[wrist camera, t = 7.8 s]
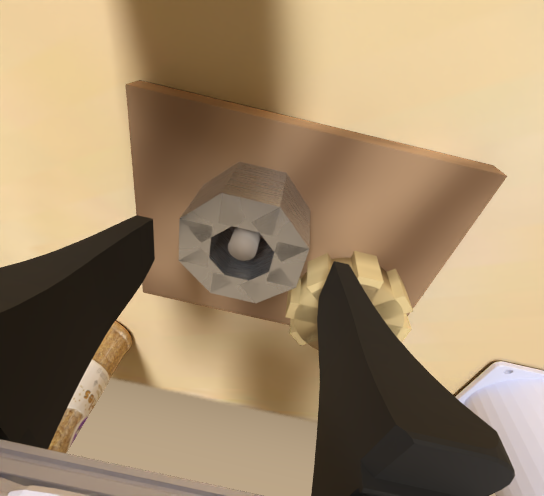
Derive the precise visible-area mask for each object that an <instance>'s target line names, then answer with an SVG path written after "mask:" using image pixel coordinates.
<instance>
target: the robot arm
mask: <svg viewBox="0 0 544 496" xmlns="http://www.w3.org/2000/svg"><path fill="white" fill-rule="evenodd" d="M154 260H155V252H154V230H153V219H152V218H147V217H143V216H139V215H137V216H134V217H132V218H130V219H127V220H125V221H123V222H121V223H119V224H117V225H114V226H112V227H110V228H108V229H106V230H104V231H102V232H99V233H97V234H95V235H93V236H91V237H88V238H86V239H84V240H81V241H79V242H76V243H74V244H71V245H69V246H67V247H64V248H62V249H59V250H56V251H54V252H51V253H48V254H45V255H42V256H39V257H36V258H33V259H30V260H27V261H23V262H20V263H16V264H13V265H9V266H5V267H1V268H0V496H262V495H258V494H253V493H248V492H244V491H239V490H234V489H230V488H225V487H220V486H216V485H211V484H206V483H201V482H197V481H192V480H188V479H183V478H178V477H174V476H169V475H164V474H159V473H155V472H150V471H146V470H141V469H136V468H132V467H127V466H122V465H118V464H113V463H108V462H104V461H99V460H94V459H90V458H85V457H80V456H76V455H71V454H66V453H62V452H57V451H52V450H48V448H49V446H50V444H51V441H52V439H53V437H54V435H55V433H56V431H57V428H58V426H59V424H60V422H61V420H62V418H63V415H64V413H65V411H66V409H67V407H68V405H69V403H70V401H71V399H72V397H73V395H74V393H75V391H76V389H77V387H78V385H79V383H80V381H81V379H82V377H83V375H84V374H85V372H86V370H87V368H88V366H89V364H90V362H91V360H92V359H93V357H94V355H95V353H96V351H97V350H98V348H99V346H100V344H101V343H102V341H103V339H104V337H105V336H106V334H107V332H108V331H109V329H110V328H111V326H112V325H113V323H114V322H115V321H116V319H117V318H118V316H119V315H120V314H121V312H122V311H123V309H124V308H125V307H126V305H127V304H128V302H129V301H130V300H131V298H132V297H133V295H134V294H135V293H136V291H137V290H138V288H139V287H140V285H141V284H142V283H143V281H144V279H145V278H146V276H147V274H148V272H149V270H150V268H151V266H152V264H153V262H154ZM317 329H318V348H319V366H320V391H319V411H318V427H317V440H316V452H315V465H314V475H313V485H312V494H311V496H489V495H491V494H493V493H495V494H496V496H544V371H543V370H539V369H534V368H530V367H525V366H521V365H516V364H512V363H507V362H503V361H498V362H494V363H493V364H492V365H490V366H489V367H488V368H487V369H486V370H485V371H484V372H482V373H481V374H480V375H479V376H478V377H477V378H476V379H475V380H473V381H472V382H471V383H470V384H469V385H468V386H467V387H466V388H464V389H463V390H462V391H461V392H460V393H459V394H458V395H456V396H453V395H452V394H451V393H450V392H449V391H448V390H447V389H446V388H445V387H443V386H442V385H441V384H440V383H439V382H438V381H437V380H436V379H435V378H434V377H433V376H432V375H431V374H430V373H429V372H428V371H427V370H426V369H425V368H424V367H423V366H422V365H421V364H420V363H419V362H418V361H417V360H416V359H415V358H414V356H413V355H412V354H411V353H410V352H409V351H408V350H407V349H406V347H405V346H404V345H403V344H402V343H401V341H400V340H399V339H398V338H397V337H396V336H395V334H394V333H393V332H392V330H391V329H390V328H389V327H388V325H387V324H386V322H385V321H384V320H383V318H382V317H381V315H380V314H379V313H378V311H377V310H376V308H375V307H374V305H373V304H372V302H371V300H370V299H369V297H368V296H367V294H366V292H365V291H364V289H363V287H362V286H361V284H360V282H359V281H358V279H357V277H356V275H355V274H354V272H353V270H352V268H351V267H350V265H349V264H345V263H341V262H336V261H334V262H333V264H332V267H331V269H330V272H329V274H328V276H327V279H326V281H325V284H324V286H323V288H322V291H321V293H320V296H319V301H318V314H317Z"/></svg>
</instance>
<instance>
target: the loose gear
mask: <svg viewBox="0 0 544 496" xmlns="http://www.w3.org/2000/svg"><path fill="white" fill-rule="evenodd" d="M233 226H234V227H238V228H242V229H246V230H251V231H255V232H259V233H260V234H261V235H262V237H263V238H262V239H260V241H259V245H258V248H257V252H256V255H255V256H254V257H253V258H252V259H250V260H247V261H242V260H238V259H236V258H234V257H233V256H232V255H231V254H230V253H229V250H228V244H229V242H230V239H231V237H232V234H233V232H234V228H233ZM309 247H310V209H309V207H308V205H307V204H306V202H305V201H304V199H303V198H302V196H301V195H300V193H299V191H298V190H297V188H296V187H295V185H294V184H293V182H292V180H291V179H290V177H289V176H288V174H287V173H285V172H281V171H277V170H273V169H268V168H264V167H260V166H256V165H252V164H248V163H244V162H238V163H236V164H235V165H233V166H232V167H230V168H229V169H227V170H226V171H224V172H222V173H221V174H219V175H218V176H216V177H215V178H213V179H212V180H210V181H208V182H207V183H205V184H204V185H203V186H202V188H201V189H200V190H199V192H198V193H197V195H196V196H195V197H194V199H193V200H192V202H191V203H190V204H189V206H188V207H187V209H186V210H185V212H184V213H183V214H182V216H181V217H180V219H179V262H180V263H181V264H182V265H183V266H184V267H185V268H186V269H187V270H188V271H189V272H190V273H191V274H192V275H193V276H194V277H195V278H196V279H197V280H198V281H199V282H200V283H201V284H202V285H203V286H204V287H205V288H206V289H207V290H208V291H209V292H210V293H213V294H217V295H222V296H226V297H230V298H235V299H239V300H243V301H248V302H252V303H258V302H261V301H263V300H266V299H268V298H271V297H273V296H276V295H278V294H281V293H284V292H286V291H289V290H291V289H294V288H296V286H297V283H298V280H299V277H300V275H301V272H302V269H303V266H304V263H305V260H306V257H307V255H308V252H309Z"/></svg>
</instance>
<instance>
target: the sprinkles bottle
mask: <svg viewBox="0 0 544 496" xmlns="http://www.w3.org/2000/svg"><path fill="white" fill-rule="evenodd" d="M131 345H132V339H131V336H130V334H129V333H128V331H127V330H126V329H125V328H124V327H123V326H122V325H121V324H119V323H118V322H116V321H115V322H114V323H113V325H112V326H111V328H110V329H109V331H108V332H107V334H106V336H105V337H104V339H103V341H102V343H101V344H100V346H99V348H98V350H97V351H96V353H95V355H94V357H93V359H92V360H91V362H90V364H89V366H88V368H87V370H86V372H85V374H84V375H83V377H82V379H81V381H80V383H79V385H78V387H77V389H76V391H75V393H74V395H73V397H72V399H71V401H70V403H69V405H68V407H67V409H66V411H65V413H64V415H63V418H62V420H61V422H60V424H59V426H58V428H57V431H56V433H55V435H54V437H53V439H52V441H51V444H50V446H49V448H48V450H52V451H57V452H62V453H66V452H67V451H68V450H69V448H70V446H71V445H72V443H73V441H74V440H75V438H76V436H77V434H78V433H79V431H80V429H81V428H82V426H83V424H84V422H85V421H86V419H87V418H88V416H89V414H90V412H91V411H92V409H93V408H94V406H95V404H96V403H97V401H98V399H99V398H100V396H101V394H102V393H103V391H104V389H105V387H106V386H107V384H108V382H109V379H110V377H111V376H112V374H113V372H114V371H115V369H116V368H117V366H118V364H119V362H120V361H121V359H122V357H123V356H124V354H125V353H126V352H127V351H128V350H129V349H130V347H131Z"/></svg>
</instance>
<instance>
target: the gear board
mask: <svg viewBox="0 0 544 496" xmlns="http://www.w3.org/2000/svg"><path fill="white" fill-rule="evenodd" d="M126 94H127V106H128V118H129V130H130V142H131V154H132V166H133V178H134V190H135V202H136V214H137V215H139V216H143V217H147V218H152V219H153V230H154V252H155V260H154V262H153V264H152V266H151V268H150V270H149V272H148V274H147V276H146V278H145V279H144V281H143V283H142V285H143V292H144V293H148V294H153V295H157V296H162V297H166V298H171V299H175V300H180V301H184V302H189V303H193V304H198V305H202V306H207V307H211V308H215V309H220V310H224V311H229V312H233V313H238V314H242V315H247V316H251V317H256V318H260V319H265V320H269V321H274V322H278V323H283V324H287V325H290V333H289V334H290V335H291V336H292V337H293V338H294V339H295V340H296V341H297V342H298V344H299V345H300V346H301V345H305V344H309V345H310V346H312V347H314V348H316V349H318V350H319V348H318V329H317V314H318V301H319V296H320V293H321V291H322V288H323V286H324V284H325V281H326V279H327V276H328V274H329V272H330V269H331V267H332V264H333V262H334V261H336V262H341V263H345V264H349V265H350V267H351V268H352V270H353V272H354V274H355V275H356V277H357V279H358V281H359V282H360V284H361V286H362V287H363V289H364V291H365V292H366V294H367V296H368V297H369V299H370V300H371V302H372V304H373V305H374V307H375V308H376V310H377V311H378V313H379V314H380V315H381V317H382V318H383V320H384V321H385V322H386V324H387V325H388V327H389V328H390V329H391V330H392V332H393V333H394V334H395V336H396V337H397V338H398V339H399V340H400V341H401V343H402V341H403V340H404V339H405V337H406V336H407V335H408V333H409V332H410V331H411V326H410V323H409V320H408V317H407V316H408V315H409V313H410V312H413V308H414V306H415V305H416V304H417V302H418V301H419V299H420V298H421V297H422V295H423V294H424V292H425V291H426V290H427V288H428V287H429V285H430V284H431V283H432V281H433V280H434V278H435V277H436V275H437V274H438V273H439V271H440V270H441V268H442V267H443V266H444V264H445V263H446V261H447V260H448V259H449V257H450V256H451V254H452V253H453V252H454V250H455V249H456V247H457V246H458V245H459V243H460V242H461V240H462V239H463V238H464V236H465V235H466V233H467V232H468V231H469V229H470V228H471V226H472V225H473V223H474V222H475V221H476V219H477V218H478V216H479V215H480V214H481V212H482V211H483V209H484V208H485V207H486V205H487V204H488V202H489V201H490V200H491V198H492V197H493V195H494V194H495V193H496V191H497V190H498V188H499V187H500V186H501V184H502V183H503V181H504V180H505V178H506V177H507V176H506V175H505V174H504V173H502V172H501V171H500V170H498V169H497V168H496V167H495V166H493V165H489V164H485V163H481V162H476V161H472V160H468V159H464V158H460V157H456V156H452V155H447V154H443V153H439V152H435V151H431V150H427V149H423V148H418V147H414V146H410V145H406V144H402V143H398V142H394V141H389V140H385V139H381V138H377V137H373V136H369V135H365V134H360V133H356V132H352V131H348V130H344V129H340V128H336V127H331V126H327V125H323V124H319V123H315V122H311V121H306V120H302V119H298V118H294V117H290V116H286V115H282V114H277V113H273V112H269V111H265V110H261V109H257V108H253V107H248V106H244V105H240V104H236V103H232V102H228V101H224V100H219V99H215V98H211V97H207V96H203V95H199V94H195V93H190V92H186V91H182V90H178V89H174V88H170V87H166V86H161V85H157V84H153V83H149V82H145V81H141V80H139V81H135V82H132V83H129V84H126ZM238 162H244V163H248V164H252V165H256V166H260V167H264V168H268V169H273V170H277V171H281V172H285V173H287V174H288V176H289V177H290V179H291V180H292V182H293V184H294V185H295V187H296V188H297V190H298V191H299V193H300V195H301V196H302V198H303V199H304V201H305V202H306V204H307V205H308V207H309V209H310V247H309V252H308V255H307V257H306V260H305V263H304V266H303V269H302V272H301V275H300V277H299V280H298V283H297V286H296V288H294V289H291V290H289V291H286V292H284V293H281V294H278V295H276V296H273V297H271V298H268V299H266V300H263V301H261V302H258V303H252V302H248V301H243V300H239V299H235V298H230V297H226V296H222V295H217V294H213V293H210V292H209V291H208V290H207V289H206V288H205V287H204V286H203V285H202V284H201V283H200V282H199V281H198V280H197V279H196V278H195V277H194V276H193V275H192V274H191V273H190V272H189V271H188V270H187V269H186V268H185V267H184V266H183V265H182V264H181V263H180V262H179V219H180V217H181V216H182V214H183V213H184V212H185V210H186V209H187V207H188V206H189V204H190V203H191V202H192V200H193V199H194V197H195V196H196V195H197V193H198V192H199V190H200V189H201V188H202V186H203V185H204V184H205V183H207V182H208V181H210V180H212V179H213V178H215V177H216V176H218V175H219V174H221V173H222V172H224V171H226V170H227V169H229V168H230V167H232V166H233V165H235V164H236V163H238ZM233 228H234V232H233V234H232V237H231V239H230V242H229V244H228V250H229V253H230V254H231V255H232V256H233V257H234V258H236V259H238V260H242V261H247V260H250V259H252V258H253V257H254V256H255V255H256V252H257V248H258V245H259V241H260V239H262V238H263V237H262V235H261V234H260V233H259V232H255V231H251V230H246V229H242V228H238V227H234V226H233Z"/></svg>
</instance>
